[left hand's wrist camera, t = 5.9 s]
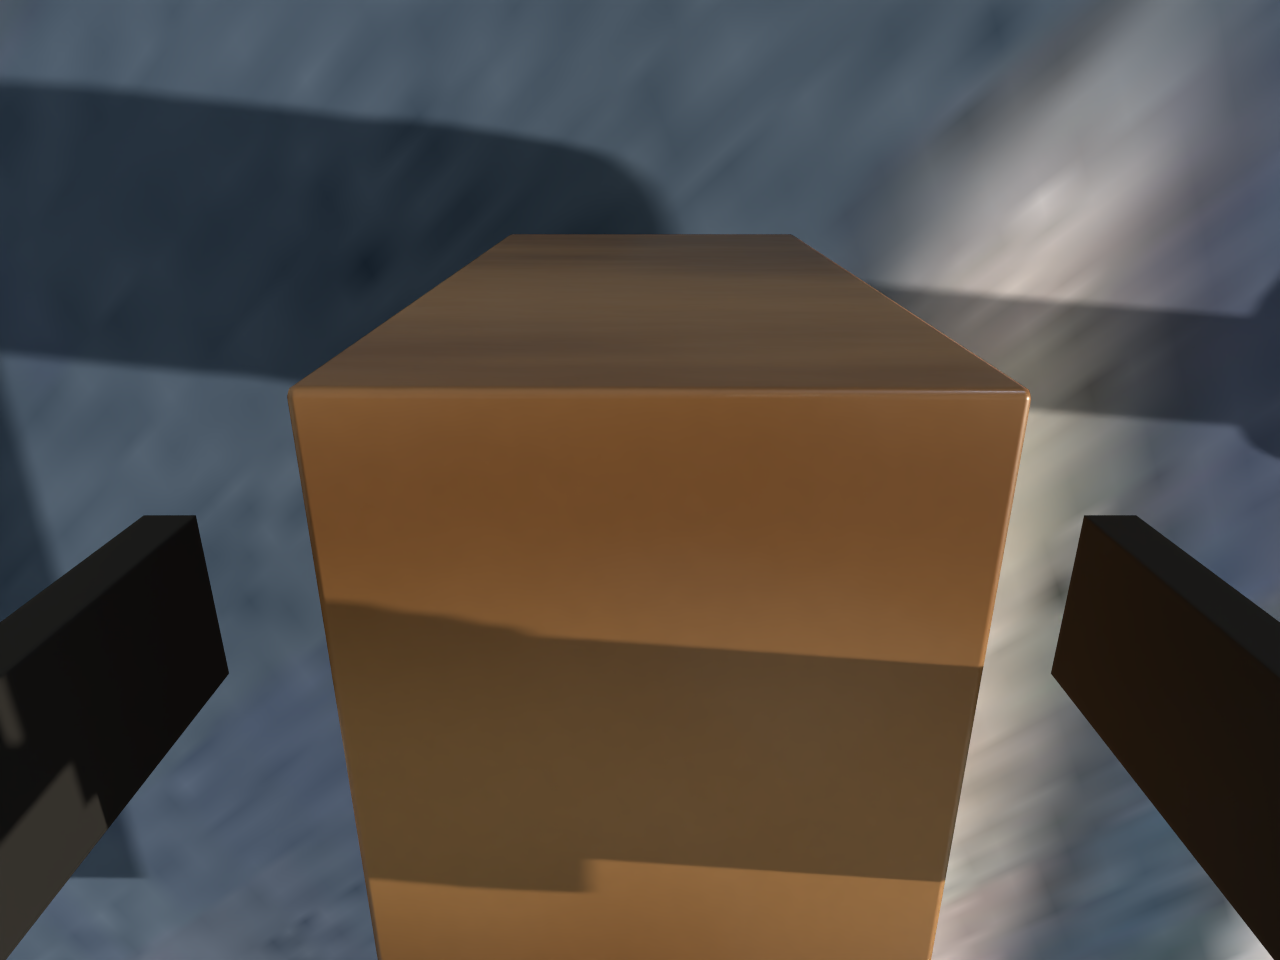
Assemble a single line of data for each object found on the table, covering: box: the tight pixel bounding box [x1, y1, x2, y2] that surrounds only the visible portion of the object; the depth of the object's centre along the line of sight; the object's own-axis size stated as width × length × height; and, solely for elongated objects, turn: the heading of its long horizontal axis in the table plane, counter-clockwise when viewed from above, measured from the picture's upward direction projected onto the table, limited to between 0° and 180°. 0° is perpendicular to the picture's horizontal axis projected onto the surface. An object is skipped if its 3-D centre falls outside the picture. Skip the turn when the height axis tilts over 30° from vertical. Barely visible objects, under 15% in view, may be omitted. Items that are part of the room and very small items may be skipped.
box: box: [287, 234, 1031, 960], centre depth 18 cm, size 28×6×13 cm, turn 0°
